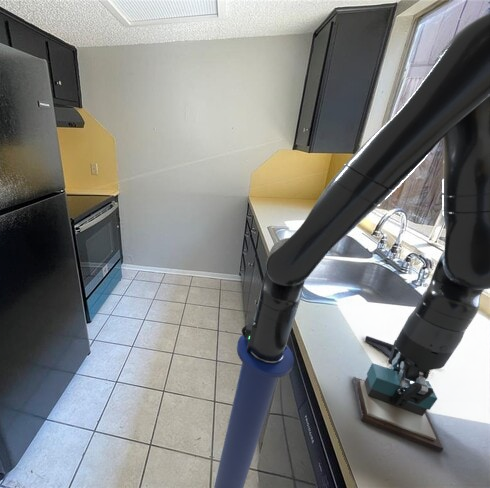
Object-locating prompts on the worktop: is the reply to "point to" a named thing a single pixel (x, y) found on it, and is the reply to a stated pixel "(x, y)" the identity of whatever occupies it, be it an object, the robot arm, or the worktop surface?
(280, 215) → the worktop surface
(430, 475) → the worktop surface
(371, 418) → the board
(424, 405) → the teal angular block
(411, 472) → the worktop surface
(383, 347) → the bracket
